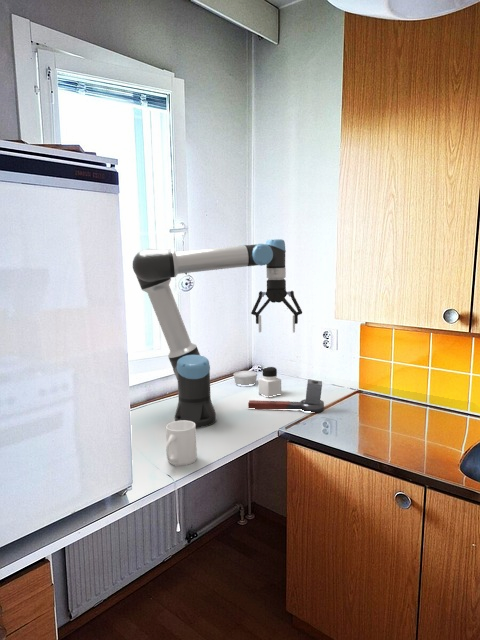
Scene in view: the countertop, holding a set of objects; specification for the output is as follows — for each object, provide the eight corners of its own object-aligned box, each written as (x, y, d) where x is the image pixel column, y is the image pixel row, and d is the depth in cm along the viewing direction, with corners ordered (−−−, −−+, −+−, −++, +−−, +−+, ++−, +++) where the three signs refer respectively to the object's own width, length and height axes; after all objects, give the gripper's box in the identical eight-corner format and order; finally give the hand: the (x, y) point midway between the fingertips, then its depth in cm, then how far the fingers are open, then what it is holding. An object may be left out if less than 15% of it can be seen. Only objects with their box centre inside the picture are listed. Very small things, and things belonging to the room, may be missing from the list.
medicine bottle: (281, 395, 198) (281, 367, 197) (268, 398, 194) (268, 370, 193) (271, 391, 204) (271, 364, 203) (258, 394, 200) (257, 367, 199)
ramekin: (239, 380, 224) (239, 369, 224) (261, 382, 220) (260, 371, 219) (229, 386, 214) (229, 375, 213) (252, 388, 210) (252, 377, 209)
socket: (305, 403, 176) (307, 382, 174) (305, 398, 181) (307, 378, 180) (319, 405, 175) (322, 384, 174) (319, 400, 180) (322, 380, 179)
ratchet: (247, 411, 178) (247, 396, 178) (250, 404, 187) (250, 390, 186) (324, 414, 174) (324, 398, 173) (323, 406, 182) (323, 391, 182)
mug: (154, 468, 133) (152, 432, 131) (178, 452, 143) (176, 418, 142) (180, 473, 129) (178, 437, 127) (202, 456, 140) (201, 422, 138)
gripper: (243, 280, 182) (244, 333, 185) (307, 278, 178) (308, 333, 181) (246, 278, 190) (247, 330, 193) (308, 277, 186) (308, 330, 188)
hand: (276, 331), depth 187 cm, fingers open, 13 cm apart
